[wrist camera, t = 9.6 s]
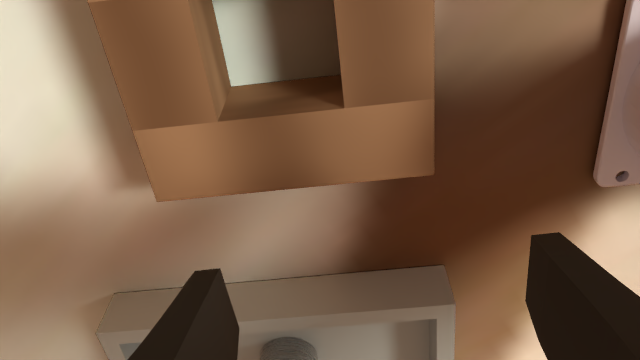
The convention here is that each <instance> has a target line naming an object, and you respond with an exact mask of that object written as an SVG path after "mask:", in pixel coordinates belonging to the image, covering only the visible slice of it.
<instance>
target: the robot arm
mask: <svg viewBox="0 0 640 360" xmlns="http://www.w3.org/2000/svg"><path fill="white" fill-rule="evenodd" d="M621 171H624V172H623V174H621V175H620V176H617V177H616V175H617V174H618V173H619V172H621ZM593 178H594V180H595V181H596V182H597V184H598V185H600V186H602V187H614V186H624V185H635V184H640V0H627V1H626V5H625V11H624V16H623V21H622V26H621V32H620V37H619V42H618V47H617V53H616V58H615V63H614V68H613V73H612V79H611V84H610V89H609V94H608V100H607V105H606V110H605V115H604V121H603V126H602V131H601V136H600V141H599V147H598V152H597V157H596V162H595V168H594V173H593ZM525 301H526V304H527V307H528V310H529V313H530V316H531V319H532V322H533V325H534V328H535V331H536V334H537V337H538V340H539V342H540V345H541V347H542V349H543V351H544V353H545V355H546V357H547V359H548V360H640V297H639V296H638V295H637V294H635V293H634V292H633V291H631V290H630V289H629V288H628V287H626V286H625V285H624V284H622V283H621V282H620V281H618V280H617V279H616V278H615V277H613V276H612V275H611V274H610V273H608V272H607V271H606V270H605V269H603V268H602V267H601V266H600V265H599V264H597V263H596V262H595V261H594V260H592V259H591V258H590V257H589V256H588V255H586V254H585V253H584V252H583V251H581V250H580V249H579V248H578V247H577V246H575V245H574V244H573V243H572V242H571V241H569V240H568V239H567V238H566V237H564V236H563V235H562V234H561V233H559V232H558V233H549V234H539V235H531V246H530V256H529V267H528V278H527V289H526V300H525ZM238 343H239V325H238V322H237V319H236V316H235V313H234V310H233V307H232V304H231V301H230V297H229V294H228V291H227V288H226V285H225V282H224V279H223V276H222V273H221V270H220V268H219V269H210V270H201V271H195V272H194V273H193V274H192V276H191V277H190V278H189V280H188V281H187V282H186V284H185V285H184V286H183V288H182V289H181V291H180V292H179V293H178V295H177V296H176V297H175V299H174V300H173V302H172V303H171V304H170V306H169V307H168V308H167V310H166V311H165V312H164V314H163V315H162V317H161V318H160V319H159V320H158V322H157V323H156V324H155V326H154V327H153V328H152V330H151V331H150V332H149V334H148V335H147V336H146V337H145V339H144V340H143V341H142V343H141V344H140V345H139V346H138V348H137V349H136V350H135V351H134V352H133V354H132V355H131V356H130V357H129V358H128V360H237V356H238Z"/></svg>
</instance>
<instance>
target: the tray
mask: <svg viewBox="0 0 640 360" xmlns="http://www.w3.org/2000/svg"><path fill="white" fill-rule="evenodd" d="M225 285H226V288H227V291H228V294H229V297H230V301H231V304H232V307H233V310H234V313H235V316H236V319H237V322H238V325H239V343H238V356H237V360H260V352H261V349H262V348H263V346H264V345H265V344H266V343H268V342H269V341H271V340H273V339H276V338H280V337H296V338H300V339H303V340H305V341H307V342H309V343H310V344H311V345H313V346H314V348H315V349H316V351H317V354H318V360H454V346H455V313H456V303H455V300H454V297H453V293H452V290H451V286H450V283H449V280H448V276H447V273H446V269H445V266H444V265H438V266H427V267H415V268H403V269H392V270H380V271H369V272H357V273H346V274H334V275H322V276H311V277H299V278H288V279H276V280H265V281H253V282H241V283H230V284H225ZM181 289H182V288H172V289H160V290H149V291H137V292H126V293H114V295H113V297H112V299H111V301H110V304H109V306H108V308H107V310H106V312H105V314H104V316H103V319H102V321H101V323H100V325H99V327H98V329H97V332H96V335H97V337H98V339H99V341H100V343H101V345H102V347H103V349H104V351H105V353H106V355H107V357H108V359H109V360H128V358H129V357H130V356H131V355H132V354H133V352H134V351H135V350H136V349H137V348H138V346H139V345H140V344H141V343H142V341H143V340H144V339H145V337H146V336H147V335H148V334H149V332H150V331H151V330H152V328H153V327H154V326H155V324H156V323H157V322H158V320H159V319H160V318H161V317H162V315H163V314H164V312H165V311H166V310H167V308H168V307H169V306H170V304H171V303H172V302H173V300H174V299H175V297H176V296H177V295H178V293H179V292H180V291H181Z"/></svg>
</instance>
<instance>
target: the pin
mask: <svg viewBox="0 0 640 360" xmlns="http://www.w3.org/2000/svg"><path fill="white" fill-rule="evenodd" d="M260 360H318V354H317V351H316V349H315V348H314V346H313V345H311V344H310V343H309V342H307V341H305V340H303V339H300V338H296V337H280V338H276V339H273V340H271V341H269V342H268V343H266V344H265V345H264V346H263V348H262V349H261V352H260Z"/></svg>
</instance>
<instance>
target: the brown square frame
mask: <svg viewBox="0 0 640 360" xmlns="http://www.w3.org/2000/svg"><path fill="white" fill-rule="evenodd" d="M87 1H88V4H89V7H90V10H91V12H92V15H93V18H94V21H95V24H96V27H97V30H98V33H99V36H100V38H101V41H102V44H103V47H104V50H105V53H106V56H107V59H108V62H109V64H110V67H111V70H112V73H113V76H114V79H115V82H116V85H117V88H118V90H119V93H120V96H121V99H122V102H123V105H124V108H125V111H126V114H127V117H128V119H129V122H130V125H131V128H132V131H133V134H134V137H135V140H136V143H137V145H138V148H139V151H140V154H141V157H142V160H143V163H144V166H145V169H146V171H147V174H148V177H149V180H150V183H151V186H152V189H153V192H154V195H155V198H156V200H157V202H162V201H172V200H182V199H192V198H203V197H213V196H223V195H233V194H244V193H254V192H264V191H275V190H285V189H295V188H305V187H316V186H326V185H336V184H346V183H357V182H367V181H377V180H387V179H398V178H408V177H418V176H429V175H434V0H334V9H335V19H336V28H337V38H338V48H339V58H340V68H341V75H334V76H324V77H315V78H306V79H297V80H288V81H279V82H270V83H261V84H252V85H243V86H234V87H231V85H230V80H229V76H228V71H227V67H226V62H225V58H224V53H223V49H222V44H221V40H220V35H219V31H218V26H217V22H216V17H215V13H214V8H213V4H212V0H87Z"/></svg>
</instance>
